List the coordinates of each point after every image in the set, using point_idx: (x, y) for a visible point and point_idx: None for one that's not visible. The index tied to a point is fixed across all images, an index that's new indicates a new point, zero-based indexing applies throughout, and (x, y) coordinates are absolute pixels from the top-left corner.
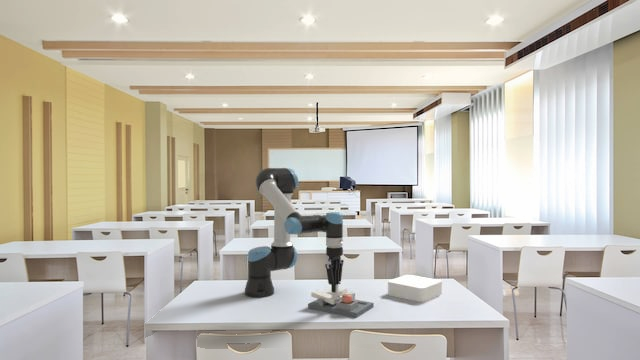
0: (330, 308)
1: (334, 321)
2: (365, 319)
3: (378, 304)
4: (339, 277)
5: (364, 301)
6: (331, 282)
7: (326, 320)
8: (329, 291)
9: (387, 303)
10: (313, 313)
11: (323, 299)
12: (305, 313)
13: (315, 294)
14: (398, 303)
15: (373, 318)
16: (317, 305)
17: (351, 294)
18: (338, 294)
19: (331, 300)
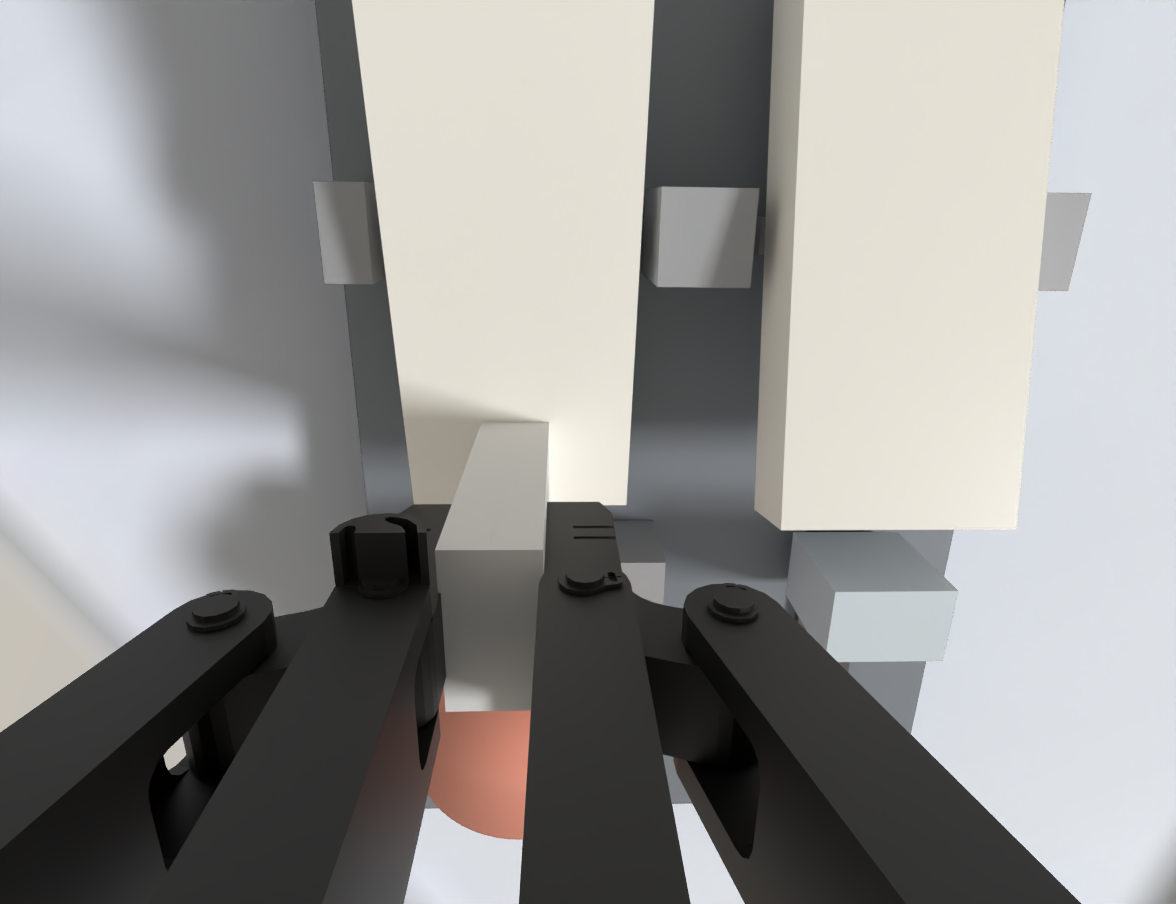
0: (360, 438)
1: (123, 626)
2: (417, 847)
3: (998, 758)
4: (722, 828)
5: (907, 693)
6: (187, 738)
7: (77, 531)
8: (869, 146)
9: (1072, 817)
10: (176, 209)
11: (372, 282)
12: (79, 81)
13: (359, 14)
14: (1109, 898)
15: (495, 890)
16: (338, 165)
17: (826, 649)
18: (764, 424)
19: (410, 453)
